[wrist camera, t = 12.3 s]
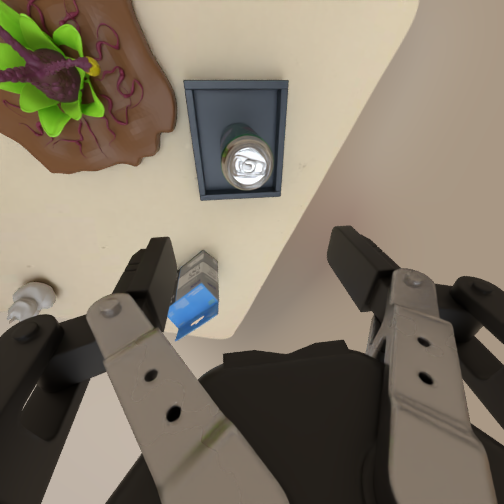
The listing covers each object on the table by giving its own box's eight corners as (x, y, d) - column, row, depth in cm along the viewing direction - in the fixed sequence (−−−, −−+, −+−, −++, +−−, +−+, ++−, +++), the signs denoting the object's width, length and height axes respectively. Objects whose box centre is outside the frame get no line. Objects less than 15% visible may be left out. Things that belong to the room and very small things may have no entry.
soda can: (221, 119, 28) (223, 131, 18) (260, 125, 29) (281, 140, 19) (218, 161, 31) (218, 191, 21) (254, 166, 32) (270, 196, 22)
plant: (-109, -13, 20) (-387, -106, 11) (83, -115, 18) (-53, -328, 9) (67, 192, 31) (5, 231, 22) (195, 140, 30) (185, 160, 21)
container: (186, 81, 26) (183, 79, 24) (283, 81, 27) (288, 80, 25) (201, 194, 34) (200, 200, 32) (276, 190, 35) (280, 196, 33)
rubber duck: (61, 280, 39) (30, 316, 33) (61, 305, 43) (32, 342, 36) (23, 272, 38) (-18, 309, 31) (26, 299, 41) (-11, 337, 34)
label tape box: (203, 249, 39) (198, 301, 29) (219, 262, 41) (219, 315, 31) (169, 275, 42) (154, 332, 32) (186, 287, 44) (176, 343, 34)
